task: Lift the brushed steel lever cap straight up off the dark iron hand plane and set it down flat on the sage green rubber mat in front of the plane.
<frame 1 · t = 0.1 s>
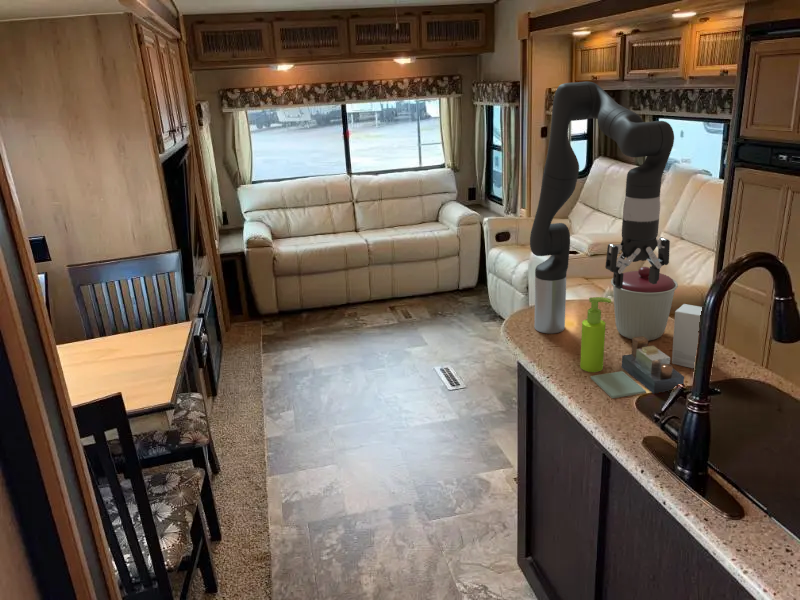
hand: (635, 285, 140), 29 cm above the counter, tool pointing down, fingers open, 8 cm apart
hand plane: (650, 377, 158), on the counter
canister: (639, 334, 183), on the counter
lever cap: (652, 365, 157), point 3 cm above the counter, touching hand plane
soap dispenser: (593, 367, 166), on the counter
skincare box: (689, 364, 164), on the counter
rubber mat: (617, 385, 156), on the counter
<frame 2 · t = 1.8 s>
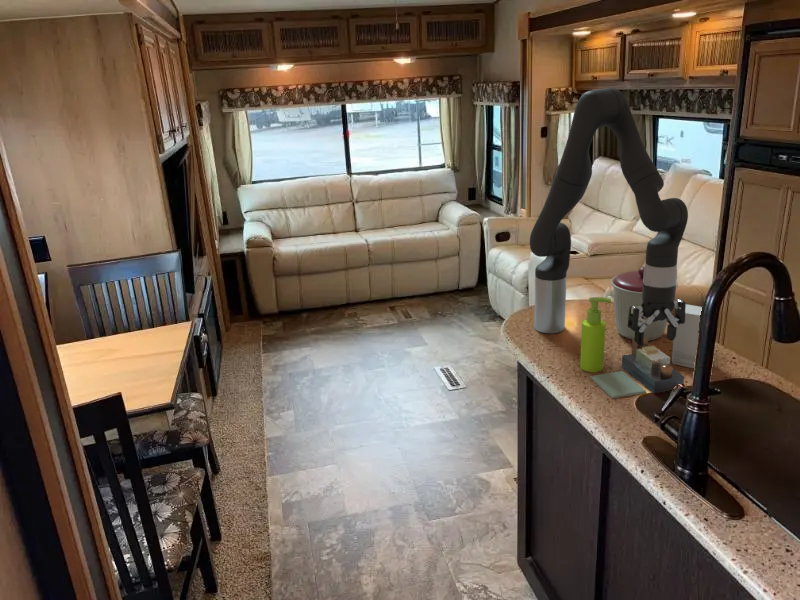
hand: (654, 341, 154), 10 cm above the counter, tool pointing down, fingers open, 8 cm apart
nothing on the counter moved.
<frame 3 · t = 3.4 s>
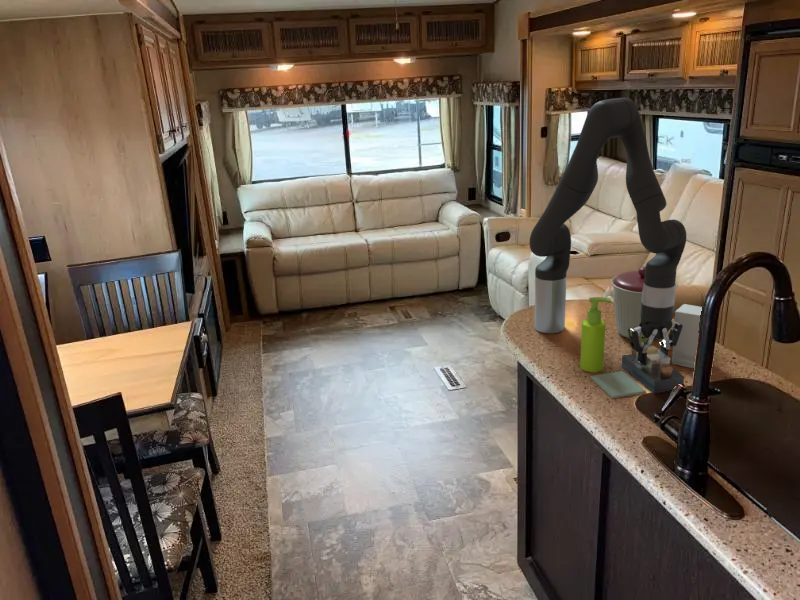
hand: (652, 362, 157), 4 cm above the counter, tool pointing down, fingers closed on lever cap, 5 cm apart
lever cap: (652, 365, 157), point 4 cm above the counter, touching gripper, hand plane
everything else where it was.
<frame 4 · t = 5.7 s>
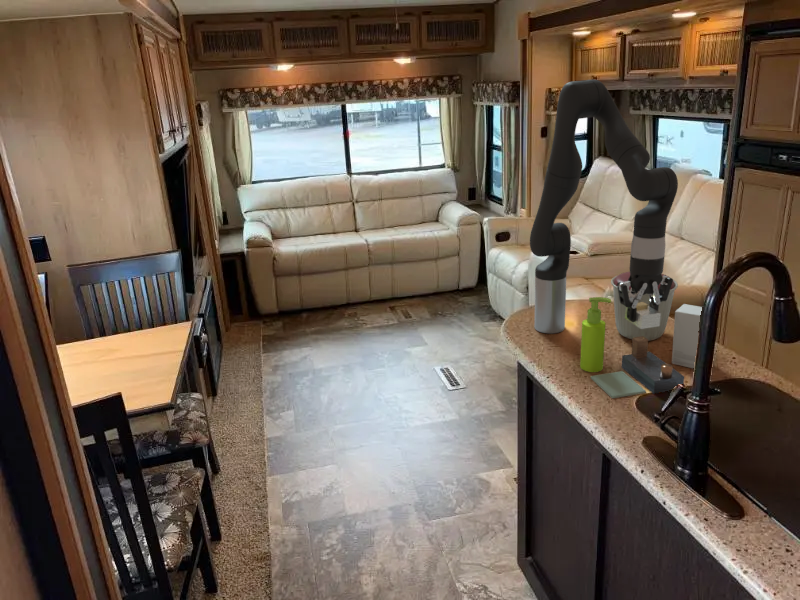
hand: (641, 318, 151), 17 cm above the counter, tool pointing down, fingers closed on lever cap, 5 cm apart
lever cap: (641, 322, 151), point 16 cm above the counter, touching gripper
everything else where it was.
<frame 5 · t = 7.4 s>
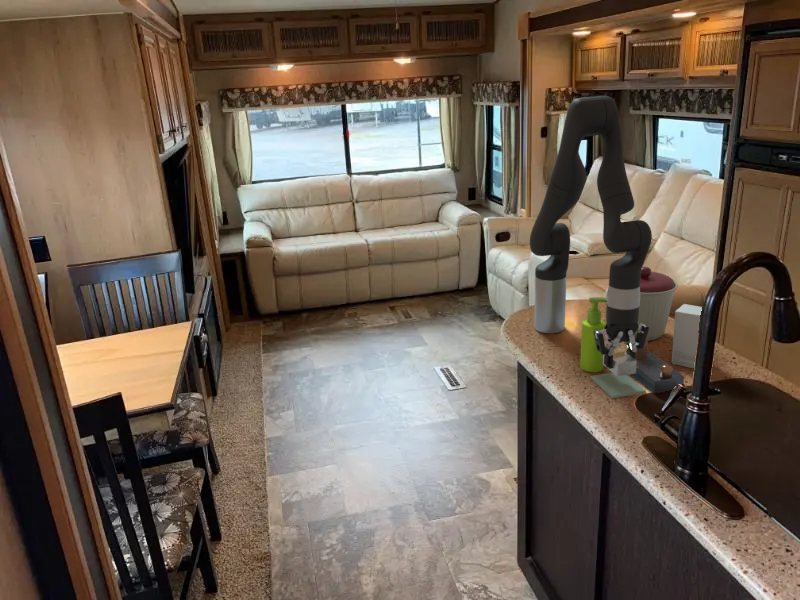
hand: (619, 365, 154), 6 cm above the counter, tool pointing down, fingers closed on lever cap, 5 cm apart
lever cap: (618, 368, 154), point 5 cm above the counter, touching gripper
everything else where it was.
when the fingers open (3 cm above the counter, at t = 8.4 s): lever cap drops 1 cm, resting on rubber mat.
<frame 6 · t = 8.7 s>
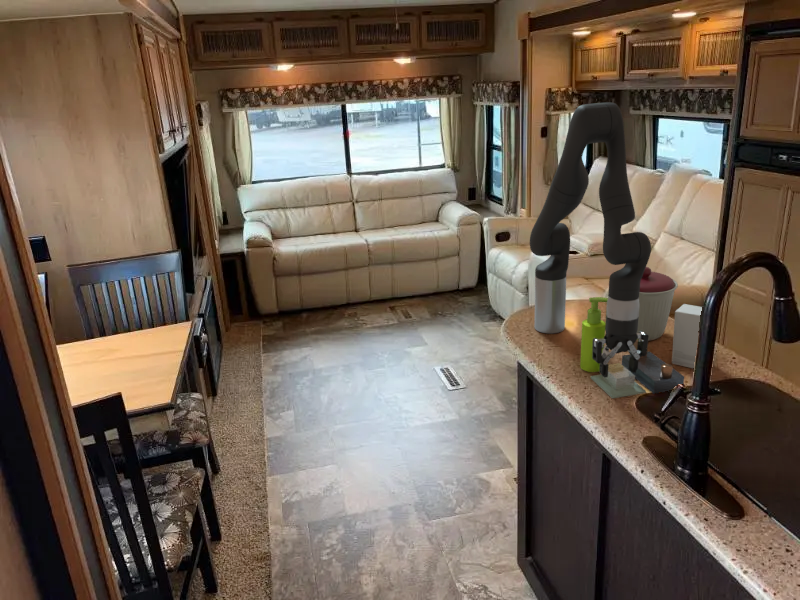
hand: (618, 373, 154), 3 cm above the counter, tool pointing down, fingers open, 7 cm apart
lever cap: (617, 383, 155), point 1 cm above the counter, touching rubber mat
everything else where it was.
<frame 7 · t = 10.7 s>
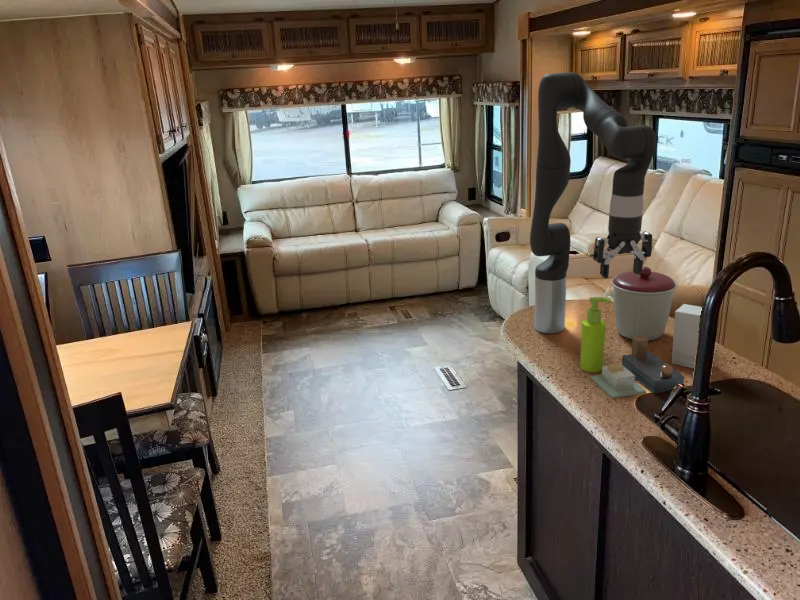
hand: (620, 275, 153), 27 cm above the counter, tool pointing down, fingers open, 8 cm apart
nothing on the counter moved.
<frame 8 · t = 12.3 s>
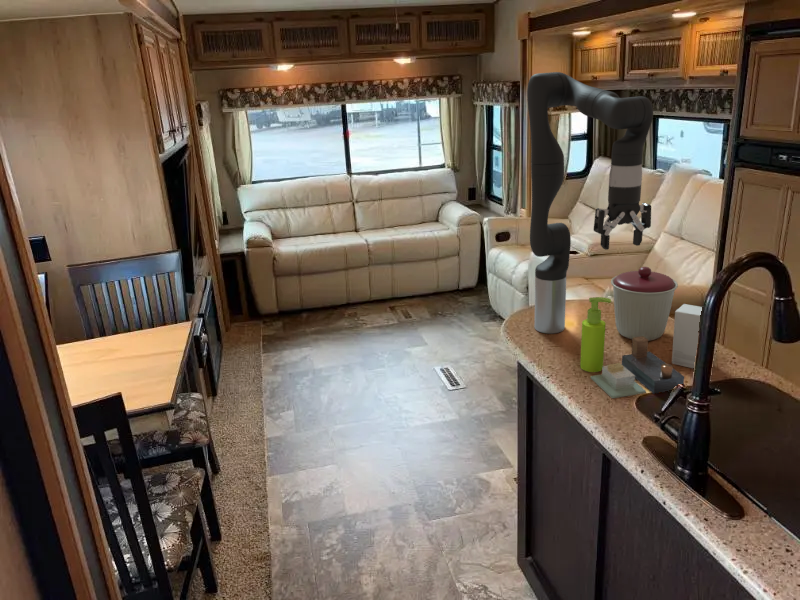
hand: (620, 246, 155), 33 cm above the counter, tool pointing down, fingers open, 8 cm apart
nothing on the counter moved.
at the end: lever cap inside the target area on the rubber mat (0.0 cm from its centre), point 0.6 cm above the rubber mat's base; lever cap tilted 0°; the gripper is holding nothing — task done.
